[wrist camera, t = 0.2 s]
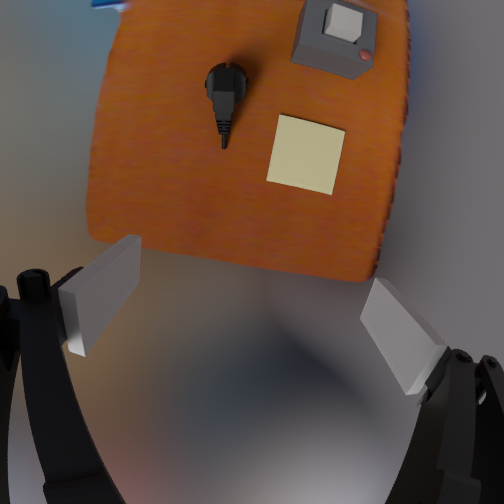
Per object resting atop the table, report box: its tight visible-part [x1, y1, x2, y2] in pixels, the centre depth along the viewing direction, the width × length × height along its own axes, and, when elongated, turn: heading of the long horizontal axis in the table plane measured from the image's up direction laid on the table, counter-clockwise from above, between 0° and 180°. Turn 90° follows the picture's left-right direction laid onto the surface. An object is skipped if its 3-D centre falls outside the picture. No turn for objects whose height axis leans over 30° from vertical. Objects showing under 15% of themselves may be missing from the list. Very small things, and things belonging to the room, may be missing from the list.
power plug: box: [205, 63, 249, 149], centre depth 34 cm, size 6×8×12 cm
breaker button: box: [323, 3, 363, 43], centre depth 25 cm, size 4×4×4 cm
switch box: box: [290, 0, 377, 80], centre depth 28 cm, size 10×10×8 cm
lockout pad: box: [267, 115, 345, 195], centre depth 38 cm, size 10×10×1 cm
